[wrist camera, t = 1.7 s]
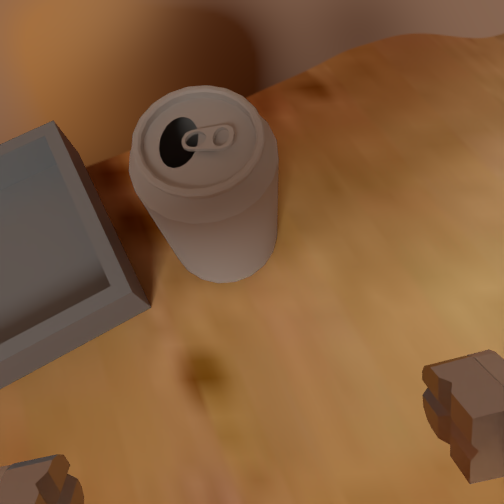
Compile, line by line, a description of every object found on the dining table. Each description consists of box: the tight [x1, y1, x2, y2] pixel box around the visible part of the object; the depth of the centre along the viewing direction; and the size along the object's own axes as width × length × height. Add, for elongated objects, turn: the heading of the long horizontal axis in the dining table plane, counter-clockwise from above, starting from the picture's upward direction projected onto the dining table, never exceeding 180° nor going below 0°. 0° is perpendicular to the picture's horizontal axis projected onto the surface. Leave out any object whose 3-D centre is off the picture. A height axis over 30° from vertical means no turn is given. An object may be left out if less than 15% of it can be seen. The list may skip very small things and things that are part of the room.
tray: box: [0, 121, 151, 389], centre depth 27 cm, size 15×15×4 cm
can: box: [129, 85, 279, 283], centre depth 24 cm, size 8×8×12 cm
